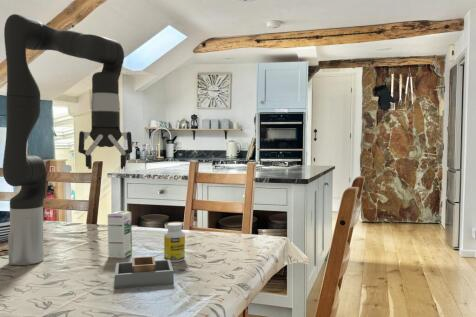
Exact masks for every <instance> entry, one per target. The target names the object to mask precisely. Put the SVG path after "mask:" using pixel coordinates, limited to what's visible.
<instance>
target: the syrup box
mask: <svg viewBox="0 0 476 317" xmlns="http://www.w3.org/2000/svg"><path fill="white" fill-rule="evenodd" d="M132 231H133V229H132V211H128V210H119V211H117V210H116V211H115V212H111V213H108V214H107V248H108V249H107V250H108V251H107V253H108V258H111V259H125V258H127V257H128V256H131V255H132V254H133V235H132V234H133V232H132Z"/></svg>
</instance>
